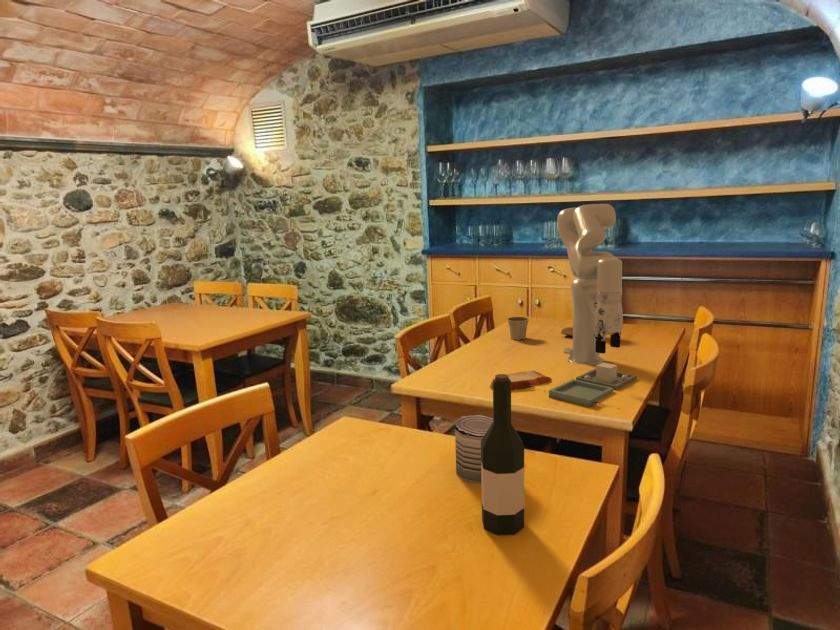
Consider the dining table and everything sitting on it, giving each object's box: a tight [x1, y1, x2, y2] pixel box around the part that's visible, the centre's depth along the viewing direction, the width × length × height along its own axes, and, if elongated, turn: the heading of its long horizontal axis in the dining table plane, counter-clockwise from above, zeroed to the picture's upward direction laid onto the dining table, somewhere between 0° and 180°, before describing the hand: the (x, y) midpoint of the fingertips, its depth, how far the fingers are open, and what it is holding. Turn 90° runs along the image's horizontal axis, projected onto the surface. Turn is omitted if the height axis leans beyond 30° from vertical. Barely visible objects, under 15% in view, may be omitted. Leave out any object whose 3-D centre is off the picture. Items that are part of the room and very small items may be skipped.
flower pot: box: [506, 316, 530, 341], centre depth 254 cm, size 9×9×9 cm
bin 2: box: [575, 368, 638, 391], centre depth 194 cm, size 14×14×3 cm
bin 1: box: [548, 378, 614, 408], centre depth 183 cm, size 14×14×2 cm
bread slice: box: [489, 370, 552, 391], centre depth 195 cm, size 18×18×4 cm
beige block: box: [595, 362, 618, 383], centre depth 193 cm, size 5×4×5 cm
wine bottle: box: [481, 373, 525, 536], centre depth 112 cm, size 8×8×30 cm
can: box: [452, 414, 493, 485], centre depth 135 cm, size 11×11×12 cm
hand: (607, 349), depth 191 cm, fingers open, 9 cm apart
